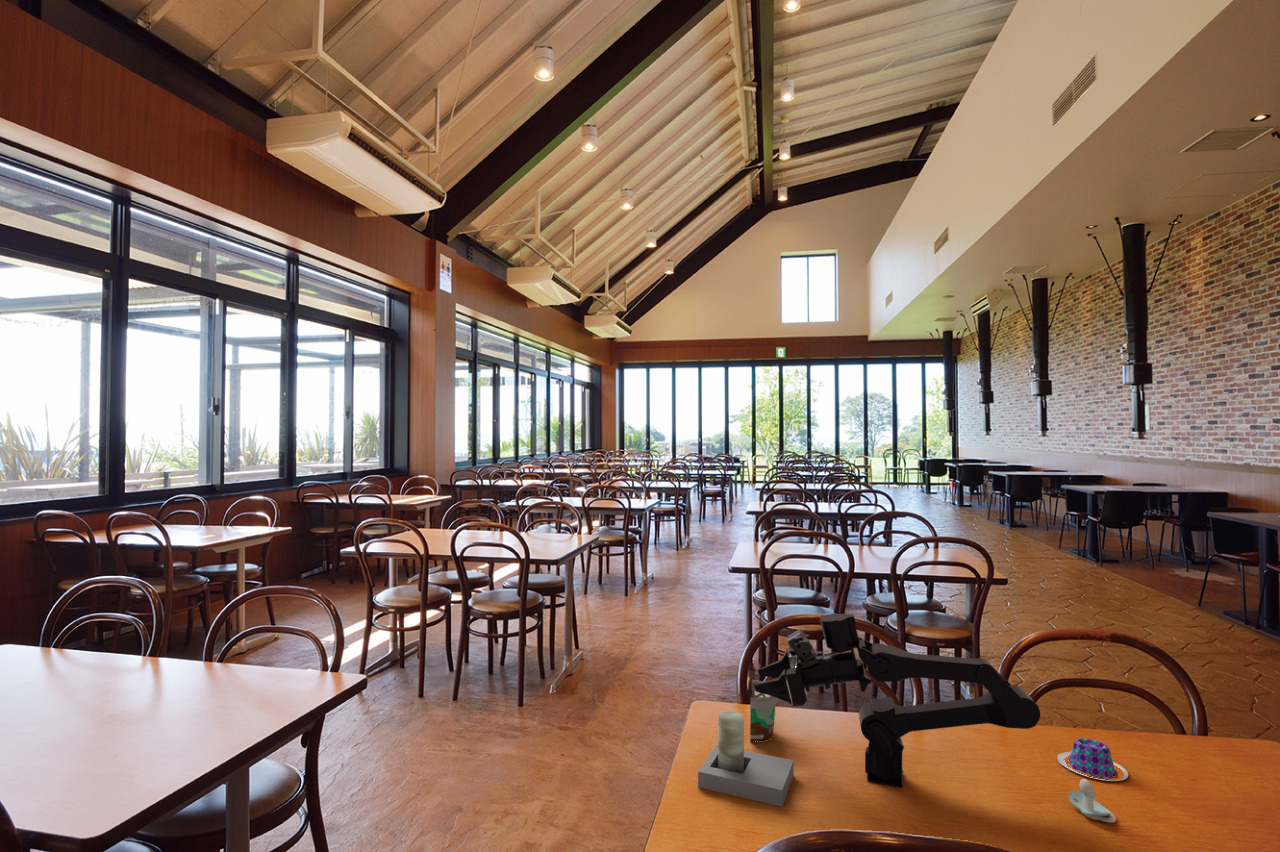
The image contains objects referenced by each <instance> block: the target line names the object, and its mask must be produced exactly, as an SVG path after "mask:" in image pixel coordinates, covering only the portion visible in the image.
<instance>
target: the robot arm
mask: <svg viewBox="0 0 1280 852" xmlns="http://www.w3.org/2000/svg"><path fill="white" fill-rule="evenodd" d="M819 621H820V624H821V625H820V626H821V629H822V632H823V637H824V642H825V645H826V648H827V649H831V651H832V652H833V653H831V654H825V653H824V652H822V651H821V650H820V651H816V650H815V648H814V647H813V646H814V645H812V643H811V642H810V640H809V639H808V637H807V636H806V634H805V633H804V631H803V630H802V629H801V628H799V629H797V630H796V631H794V632H792V633H791V634H788V635H787V640H786V641H787V644H788V645H789V647H788V648H789V649H786V650H785V652H784V654H783V656H782V657H781V659H779V660H776V661H774V662H772V663H770V664H768V665H766V666H764V667H761V668H758V670H757V673H758V676H760V677H761V676H762V677H767V678H772V679H769V680H766V681H765V680H764V681H762V683H759V684H756V685H754V688H755V691H758V692H761V693H764V694H767V695H770V696H773V697H776V698H778V699H779V700H782V701H784V702H787V703H788V704H789V705H793V707H803V706H804V705H805V704H806V703H807V701H808V692H810V691H811V688H816V687H825V689H826V690H827V689H831V688H832V687H831V686H833V685H837V684H844V683H852V682H853V683H854V682H858V683H859V688H860V691H861V692H862V693H864V692H865V691H866V690H867V687H868V686H869V685H870V684H871V683H872V679H871V678H873V679H875V681H878V682H883V683H884V682H885V683H886V682H887V683H888V682H900V681H904V680H907V679H911V678H912V679H913V678H915V679H916V678H921V679H929V680H930V679H931V680H943V681H952V682H964V683H974V684H980V685H982V686H983V687H984V688H985V689H986V691H988V692H985V693H984V694H983V695H981V696H979V697H975V698H974V697H973V698H965V699H956V700H947V701H939V702H932V703H931V702H930V703H922V704H921V703H920V704H915V705H913V704H912V705H899V704H895V703H894V701H893V698H892V696H887V697H884V698H872V697H871V698H870V701H868V702H865V703H864V704H862V706H861V707H860V709H859V712H858V719H859V725H860V730H861V734H862V736H863V737H864V738H865V739H866V740H867V741H868V746H866V748H865V751H864V756H865V757H864V773H865V774H866V775H867V776H866V780H867V781H868V782H871V783H872V782H873V783H877V784H882V785H887V786H891V787H897V788H903V786H904V784H903V783H904V770H903V751H904V749H905V747H904V743H903V741H902V740H903V739H902V738H903V736H906V735H907V734H909V733H912V732H920V731H929V730H936V729H937V730H938V729H947V728H958V727H964V726H966V727H967V726H975V725H976V726H977V725H984V724H986V725H987V724H990V725H994V726H998V727H1002V728H1007V729H1017V730H1018V729H1021V730H1028V729H1031V728H1032V729H1033V728H1034V727H1036V726H1037V724H1038V722H1039V721H1040V718H1041V710H1040V707H1039V706H1038V704H1037V703H1036V702H1035V701H1034V700H1033V698H1032V697H1031V696H1030V695H1029V694H1028V693H1027V692H1026V690H1025V689H1024V688H1022V687H1020V686H1019V685H1015V684H1014V685H1013V684H1011V683H1010V682H1009V680H1007V679H1006V678H1005V677H1004V676H1003V675H1002V674H1001V673H1000V672H998V671H997V669H996V668H995V667H994V666H993V665H992V663H990V661H989V660H987V659H986V658H984V657H983V658H982V657H977V658H969V657H959V656H948V655H947V656H946V655H945V656H944V655H935V654H934V655H933V654H924V653H923V654H922V653H913V652H910V651H907V650H904V649H901V648H898V647H896V646H892V645H888V644H884V643H872V642H870V641H868V640H866V639H864V638H862V637H860V636H859V633H858V630H857V627H856V618H855V614H853V613H852V614H851V613H850V614H848V613H835V612H834V613H830V614H827V615H824V616H821V618H820V617H819ZM854 649H856V650H857V653H858V658H859V659H858V658H857V657H856V653H855V650H854ZM864 664H865V665H866V668H867V671H868V673H869V674H870V676H872V677H870V676H869V675H867V673H866V671H865V666H864Z"/></svg>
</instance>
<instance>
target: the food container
mask: <svg viewBox="0 0 1280 852" xmlns="http://www.w3.org/2000/svg"><path fill="white" fill-rule="evenodd" d="M762 682H763V681H762V680H756V679H751V697H750V706H749V707H750V708H749V709H750V711H749V712H750V713H749V714H750V715H749V718H750V721H749V722H750V725H749V726H750V727H749V729H750V730H749V731H750V734H749V735H750V736H749V738H750V739H749V740H750V743H760V742H759V741H764V742H766V741H765V740H768V741H770V740H771V739H770V738H772V739H773V737H772V736H774V729H775V715H776V705H778V704H779V700H780V699H779V698H776V697H773V696H770V695H767V694H764V693H761V692H758V691H755V688H754V685H756V684H759V683H762ZM769 739H770V740H769ZM755 741H756V742H755ZM757 741H758V742H757Z"/></svg>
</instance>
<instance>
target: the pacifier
mask: <svg viewBox="0 0 1280 852" xmlns="http://www.w3.org/2000/svg"><path fill="white" fill-rule="evenodd" d="M1079 789H1080V791H1078V790H1071V791H1070V792H1068V800H1069V802H1070V803H1071V805H1072V806H1073V807H1074V808H1076V809H1078V810H1080V812H1081V814H1083V815H1084V816H1085V817H1087V818H1089V819H1091V818H1092V819H1091V820H1094V819H1095V821H1101V822H1104V823H1110V824H1112V823H1115V822H1116V821H1117V818H1116V816H1115V814H1114V813H1113V812H1111V811H1110V810H1109V809H1107V807H1104V806H1103V805H1102V804H1100V803H1099V802H1098V801H1096V792H1095V789H1094V787H1093V785H1092V783H1090V781H1089V780H1088V779H1086V778H1082V779H1081V780H1080V781H1079ZM1106 816H1108V817H1106Z"/></svg>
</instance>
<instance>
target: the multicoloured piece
mask: <svg viewBox="0 0 1280 852" xmlns="http://www.w3.org/2000/svg"><path fill="white" fill-rule="evenodd" d="M1069 755H1070V757H1069V760H1068V762H1069V763H1070V764H1071V765H1070V764H1069V763H1068V764H1069V765H1070V767H1071V766H1072V767H1073V768H1074V770H1073V769H1072V767H1071V768H1070V767H1068V766H1067V764H1066V762H1065V760H1064V759H1065V758H1066V757H1068V756H1069ZM1057 761H1058V762H1059V763H1060V764H1061V765H1062V766H1063V767H1065V768H1067V770H1069V771H1072V772H1074V773H1076V774H1078V775H1081V776H1083V777H1087V778H1091V779H1096V780H1100V781H1106V782H1107V781H1108V782H1118V781H1119V782H1120V781H1124V780H1126V779H1127V778H1129V771H1127V769H1125V768H1124V767H1123V766H1122V765H1120V764H1118V763H1116V762H1114V761H1113V758H1112V753H1111V750H1110V748H1109V747H1108V746H1107V745H1106V744H1104V743H1103V742H1101V741H1099V740H1094V739H1091V738H1083V737H1082V738H1081V737H1080V738H1077V739H1076V740H1075V741H1074V742H1073V745H1072V749H1071V751H1066V752H1061V753H1059V754H1058V755H1057ZM1114 765H1115V766H1117V767H1118V768H1120V769H1121V770H1122V771H1123V773H1124V776H1123V777H1122V778H1120V779H1116V780H1105V779H1106V778H1104V779H1098V778H1100V777H1108V776H1115V775H1116V776H1117V772H1116V773H1115V768H1114ZM1075 769H1077V770H1080V771H1078V772H1077V770H1076V771H1075ZM1081 771H1082V772H1083V774H1081V773H1082V772H1081ZM1079 772H1080V773H1079ZM1084 773H1086V774H1090V775H1097V776H1100V777H1097V776H1096V777H1097V778H1093V777H1094V776H1092V777H1089V776H1090V775H1089V776H1087V775H1084ZM1116 776H1115V777H1116ZM1108 778H1109V777H1108Z"/></svg>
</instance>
